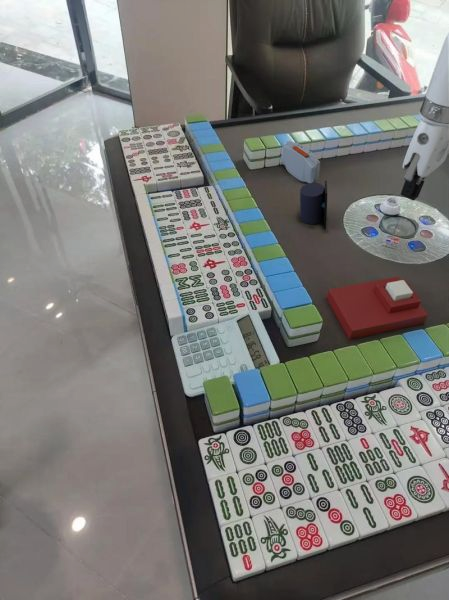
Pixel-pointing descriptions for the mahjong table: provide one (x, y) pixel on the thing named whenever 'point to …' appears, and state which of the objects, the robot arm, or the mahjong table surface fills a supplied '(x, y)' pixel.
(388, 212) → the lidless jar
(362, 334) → the red rectangular stepped block
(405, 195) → the robot arm
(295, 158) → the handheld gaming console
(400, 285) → the white square block
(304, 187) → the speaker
